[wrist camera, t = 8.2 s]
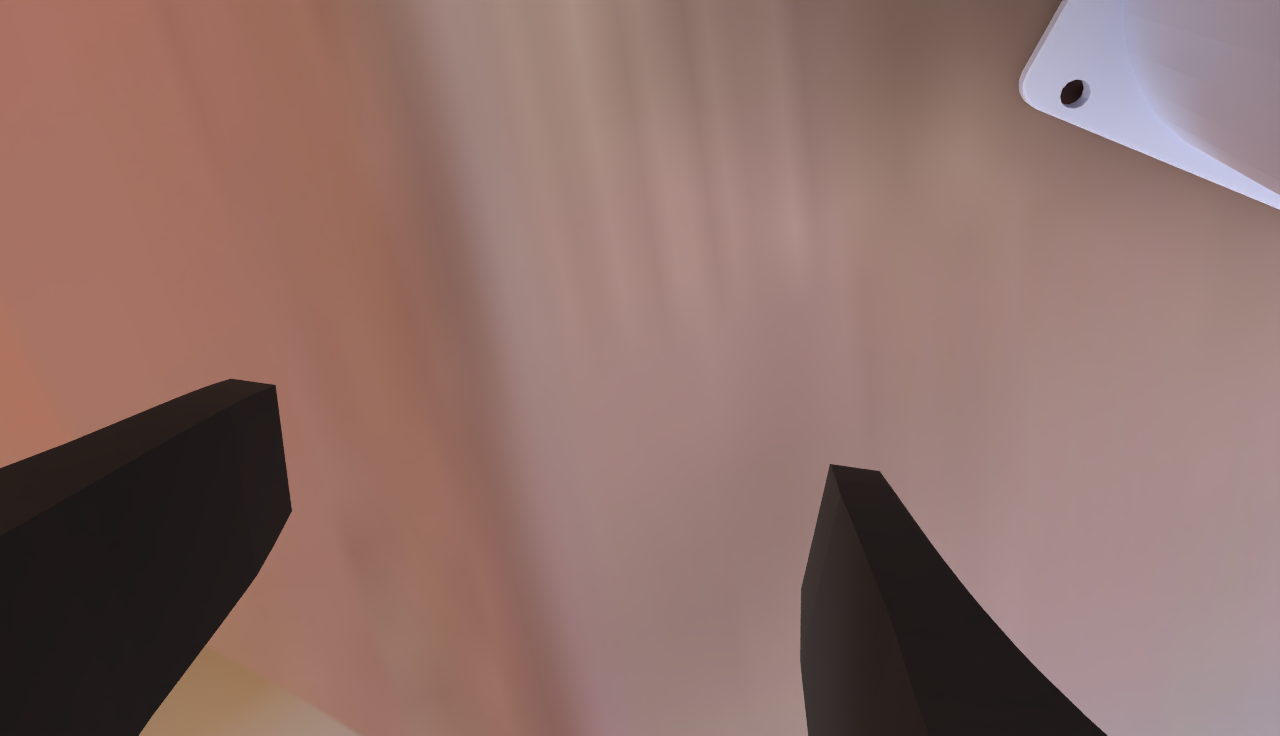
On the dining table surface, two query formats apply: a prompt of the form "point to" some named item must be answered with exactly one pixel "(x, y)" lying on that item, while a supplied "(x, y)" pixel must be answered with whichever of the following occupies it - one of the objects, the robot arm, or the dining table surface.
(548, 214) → the dining table surface
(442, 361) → the dining table surface
